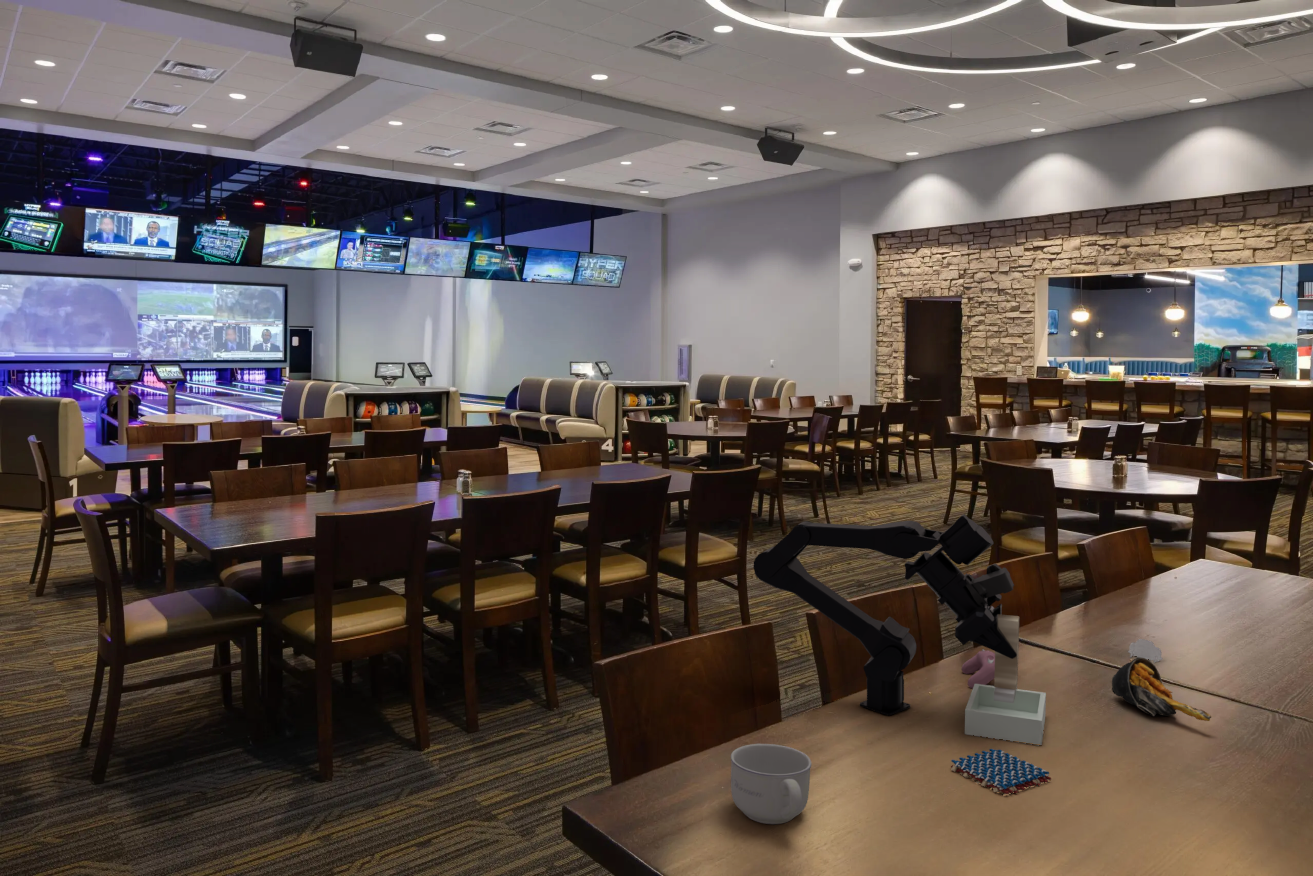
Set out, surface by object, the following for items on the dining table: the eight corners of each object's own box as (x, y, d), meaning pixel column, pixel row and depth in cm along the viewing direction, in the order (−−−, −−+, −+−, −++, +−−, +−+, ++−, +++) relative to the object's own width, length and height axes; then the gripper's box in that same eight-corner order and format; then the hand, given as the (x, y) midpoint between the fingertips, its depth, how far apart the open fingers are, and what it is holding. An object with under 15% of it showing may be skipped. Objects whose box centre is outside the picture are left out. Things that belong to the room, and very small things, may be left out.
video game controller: (988, 698, 170) (1007, 666, 169) (966, 686, 170) (984, 654, 169) (980, 680, 180) (997, 650, 178) (958, 669, 180) (976, 639, 179)
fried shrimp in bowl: (1133, 666, 168) (1229, 660, 153) (1134, 727, 164) (1232, 728, 149) (1098, 653, 165) (1193, 646, 150) (1098, 715, 161) (1195, 715, 145)
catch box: (1041, 746, 145) (1041, 720, 144) (964, 734, 150) (965, 709, 149) (1045, 716, 157) (1045, 692, 156) (974, 706, 162) (974, 683, 161)
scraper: (1014, 703, 148) (1016, 625, 147) (992, 700, 150) (994, 622, 149) (1018, 687, 156) (1020, 613, 155) (997, 685, 157) (999, 610, 156)
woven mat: (1004, 802, 127) (1004, 788, 127) (947, 773, 137) (947, 759, 136) (1055, 785, 132) (1055, 771, 132) (996, 758, 141) (996, 745, 141)
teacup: (725, 797, 129) (724, 742, 128) (800, 793, 130) (800, 738, 129) (742, 848, 115) (742, 787, 114) (827, 843, 116) (827, 782, 115)
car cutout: (1169, 661, 186) (1170, 640, 186) (1156, 668, 182) (1157, 646, 182) (1095, 645, 198) (1095, 625, 197) (1081, 651, 193) (1081, 631, 193)
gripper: (978, 562, 144) (1052, 639, 140) (989, 542, 161) (1055, 610, 157) (925, 606, 148) (996, 682, 144) (942, 581, 165) (1005, 649, 161)
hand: (1015, 653), depth 152 cm, fingers closed on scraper, 3 cm apart
